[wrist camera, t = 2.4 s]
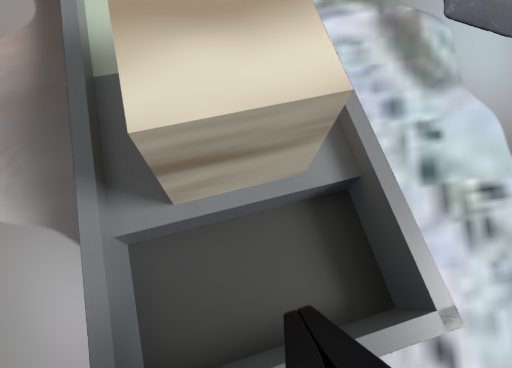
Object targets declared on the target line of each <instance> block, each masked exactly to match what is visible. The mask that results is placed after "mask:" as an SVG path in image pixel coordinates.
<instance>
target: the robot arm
mask: <svg viewBox="0 0 512 368" xmlns="http://www.w3.org/2000/svg"><path fill="white" fill-rule="evenodd" d="M283 323H284V344H285V366H286V368H391V367H390V366H389V365H387V364H386V363H385V362H384V361H382V360H381V359H380V358H378V357H377V356H376V355H375V354H373V353H372V352H371V351H369V350H368V349H367V348H365V347H364V346H363V345H362V344H360V343H359V342H358V341H356V340H355V339H354V338H353V337H351V336H350V335H349V334H347V333H346V332H345V331H343V330H342V329H341V328H340V327H338V326H337V325H336V324H334V323H333V322H332V321H331V320H329V319H328V318H327V317H325V316H324V315H323V314H321V313H320V312H319V311H318V310H316V309H315V308H314V307H312V306H311V305H306V306H303V307H300V308H298V309H297V310H292V311H289V312H286V313H284V314H283Z"/></svg>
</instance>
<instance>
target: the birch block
mask: <svg viewBox="0 0 512 368" xmlns="http://www.w3.org/2000/svg"><path fill="white" fill-rule="evenodd" d="M107 1H108V8H109V14H110V21H111V27H112V34H113V40H114V47H115V53H116V60H117V66H118V73H119V79H120V86H121V92H122V99H123V105H124V112H125V118H126V125H127V131H128V134H129V136H130V137H131V139H132V141H133V142H134V144H135V145H136V147H137V148H138V150H139V151H140V153H141V155H142V156H143V158H144V159H145V161H146V162H147V164H148V166H149V167H150V169H151V170H152V172H153V173H154V175H155V176H156V178H157V180H158V181H159V183H160V184H161V186H162V187H163V189H164V190H165V192H166V194H167V195H168V197H169V198H170V200H171V201H172V203H173V204H174V205H176V204H180V203H184V202H188V201H192V200H197V199H201V198H205V197H209V196H213V195H218V194H222V193H226V192H230V191H234V190H239V189H243V188H247V187H251V186H255V185H260V184H264V183H268V182H272V181H276V180H281V179H285V178H289V177H293V176H297V175H301V174H305V172H306V170H307V169H308V167H309V165H310V163H311V162H312V160H313V158H314V157H315V155H316V153H317V151H318V150H319V148H320V146H321V145H322V143H323V141H324V139H325V138H326V136H327V134H328V133H329V131H330V129H331V127H332V126H333V124H334V122H335V120H336V119H337V117H338V115H339V114H340V112H341V110H342V108H343V107H344V105H345V103H346V102H347V100H348V98H349V96H350V95H351V93H352V91H353V90H354V89H353V87H352V85H351V83H350V80H349V78H348V76H347V74H346V72H345V70H344V68H343V65H342V63H341V61H340V59H339V57H338V55H337V53H336V50H335V48H334V46H333V44H332V42H331V40H330V38H329V35H328V33H327V31H326V29H325V27H324V25H323V23H322V20H321V18H320V16H319V14H318V12H317V10H316V8H315V5H314V3H313V1H312V0H107Z"/></svg>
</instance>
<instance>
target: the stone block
mask: <svg viewBox="0 0 512 368" xmlns="http://www.w3.org/2000/svg"><path fill="white" fill-rule="evenodd" d="M443 2H444V15H445V16H446V18H448V19H451V20H454V21H457V22H460V23H463V24H466V25H469V26H473V27H476V28H479V29H482V30H485V31H490V32H493V33H496V34H498V35H501V36H504V37H510V38H512V0H443Z"/></svg>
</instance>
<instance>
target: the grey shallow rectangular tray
mask: <svg viewBox="0 0 512 368" xmlns="http://www.w3.org/2000/svg"><path fill="white" fill-rule="evenodd" d="M60 4H61V16H62V28H63V40H64V53H65V65H66V77H67V89H68V102H69V114H70V126H71V138H72V151H73V163H74V175H75V187H76V200H77V212H78V224H79V236H80V249H81V260H82V273H83V285H84V298H85V310H86V321H87V334H88V347H89V358H90V368H286V366H285V344H284V323H283V314H284V313H286V312H289V311H292V310H297V309H298V308H300V307H303V306H306V305H311V306H312V307H314V308H315V309H316V310H318V311H319V312H320V313H321V314H323V315H324V316H325V317H327V318H328V319H329V320H331V321H332V322H333V323H334V324H336V325H337V326H338V327H340V328H341V329H342V330H343V331H345V332H346V333H347V334H349V335H350V336H351V337H353V338H354V339H355V340H356V341H358V342H359V343H360V344H362V345H363V346H364V347H365V348H367V349H368V350H369V351H371V352H372V353H373V354H375V355H376V356H377V357H381V356H383V355H386V354H389V353H392V352H394V351H397V350H400V349H403V348H406V347H408V346H411V345H414V344H417V343H419V342H422V341H425V340H428V339H431V338H433V337H436V336H439V335H442V334H444V333H447V332H450V331H453V330H455V329H458V328H461V327H464V324H463V321H462V319H461V317H460V315H459V313H458V311H457V309H456V306H455V304H454V302H453V300H452V298H451V296H450V294H449V291H448V289H447V287H446V285H445V283H444V281H443V279H442V277H441V274H440V272H439V270H438V268H437V266H436V264H435V262H434V259H433V257H432V255H431V253H430V251H429V249H428V247H427V244H426V242H425V240H424V238H423V236H422V234H421V232H420V229H419V227H418V225H417V223H416V221H415V219H414V217H413V214H412V212H411V210H410V208H409V206H408V204H407V202H406V199H405V197H404V195H403V193H402V191H401V189H400V187H399V185H398V182H397V180H396V178H395V176H394V174H393V172H392V170H391V167H390V165H389V163H388V161H387V159H386V157H385V155H384V152H383V150H382V148H381V146H380V144H379V142H378V140H377V137H376V135H375V133H374V131H373V129H372V127H371V125H370V122H369V120H368V118H367V116H366V114H365V112H364V110H363V108H362V105H361V103H360V101H359V99H358V97H357V95H356V93H355V90H353V91H352V93H351V95H350V96H349V98H348V100H347V102H346V103H345V105H344V107H343V108H342V110H341V112H340V114H339V115H338V117H337V119H336V120H335V122H334V124H333V126H332V127H331V129H330V131H329V133H328V134H327V136H326V138H325V139H324V141H323V143H322V145H321V146H320V148H319V150H318V151H317V153H316V155H315V157H314V158H313V160H312V162H311V163H310V165H309V167H308V169H307V170H306V172H305V174H301V175H297V176H293V177H289V178H285V179H281V180H276V181H272V182H268V183H264V184H260V185H255V186H251V187H247V188H243V189H239V190H234V191H230V192H226V193H222V194H218V195H213V196H209V197H205V198H201V199H197V200H192V201H188V202H184V203H180V204H176V205H174V204H173V203H172V201H171V200H170V198H169V197H168V195H167V194H166V192H165V190H164V189H163V187H162V186H161V184H160V183H159V181H158V180H157V178H156V176H155V175H154V173H153V172H152V170H151V169H150V167H149V166H148V164H147V162H146V161H145V159H144V158H143V156H142V155H141V153H140V151H139V150H138V148H137V147H136V145H135V144H134V142H133V141H132V139H131V137H130V136H129V134H128V131H127V125H126V118H125V112H124V105H123V99H122V92H121V86H120V79H119V73H118V66H117V60H116V53H115V47H114V40H113V34H112V27H111V21H110V14H109V8H108V1H107V0H60ZM315 8H316V7H315ZM316 10H317V9H316ZM317 12H318V11H317ZM318 14H319V13H318ZM322 23H323V22H322ZM323 25H324V24H323ZM324 27H325V26H324ZM325 29H326V28H325ZM326 31H327V30H326ZM329 38H330V37H329ZM330 40H331V39H330ZM331 42H332V41H331ZM332 44H333V43H332ZM333 46H334V45H333ZM336 53H337V52H336ZM337 55H338V54H337ZM338 57H339V56H338ZM339 59H340V58H339ZM340 61H341V60H340ZM343 68H344V67H343ZM344 70H345V69H344ZM345 72H346V71H345ZM346 74H347V73H346ZM347 76H348V75H347ZM350 83H351V82H350ZM351 85H352V84H351ZM352 87H353V86H352ZM353 89H354V88H353Z"/></svg>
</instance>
